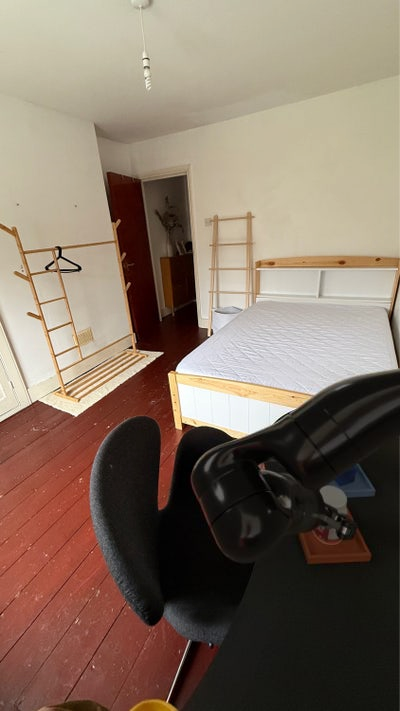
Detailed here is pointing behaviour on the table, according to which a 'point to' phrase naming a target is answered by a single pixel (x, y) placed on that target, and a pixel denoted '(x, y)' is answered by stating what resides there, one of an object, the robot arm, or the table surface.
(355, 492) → the blue tray
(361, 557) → the terracotta tray
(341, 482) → the blue block
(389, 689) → the table surface
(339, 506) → the pill bottle
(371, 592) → the table surface
